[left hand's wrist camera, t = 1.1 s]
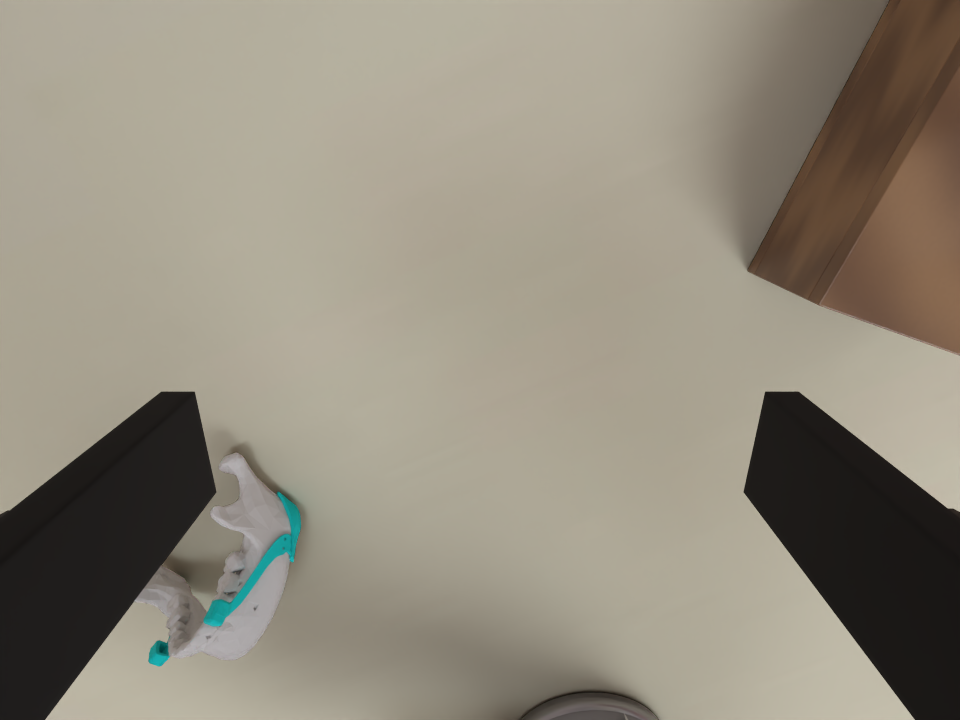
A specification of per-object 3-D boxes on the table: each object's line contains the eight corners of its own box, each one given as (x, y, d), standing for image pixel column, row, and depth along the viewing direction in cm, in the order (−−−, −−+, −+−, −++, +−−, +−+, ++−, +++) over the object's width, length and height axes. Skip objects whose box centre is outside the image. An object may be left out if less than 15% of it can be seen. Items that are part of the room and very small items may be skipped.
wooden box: (908, -37, 29) (1056, -99, 22) (1067, 35, 31) (1258, -1, 23) (746, 271, 36) (818, 305, 28) (883, 320, 37) (987, 365, 29)
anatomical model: (174, 722, 39) (34, 672, 35) (216, 597, 48) (109, 543, 43) (321, 619, 36) (186, 547, 31) (336, 504, 44) (234, 435, 40)
